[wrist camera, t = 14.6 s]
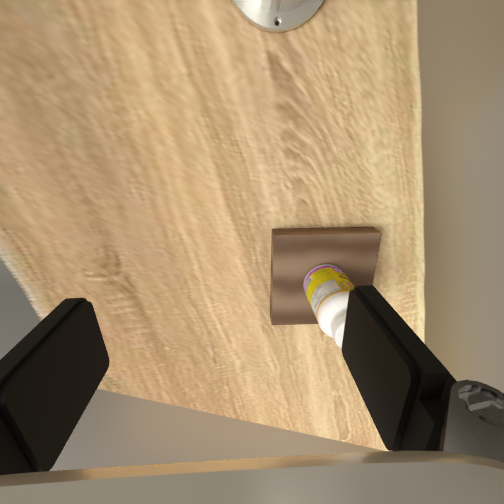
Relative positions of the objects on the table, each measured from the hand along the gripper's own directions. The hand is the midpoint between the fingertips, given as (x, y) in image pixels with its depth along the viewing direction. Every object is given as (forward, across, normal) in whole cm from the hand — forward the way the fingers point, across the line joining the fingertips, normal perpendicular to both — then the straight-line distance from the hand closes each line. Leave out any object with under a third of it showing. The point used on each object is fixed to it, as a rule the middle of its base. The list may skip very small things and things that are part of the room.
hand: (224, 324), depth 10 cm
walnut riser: (+32, -13, +15) cm, 38 cm away
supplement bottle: (+29, -13, +15) cm, 35 cm away
